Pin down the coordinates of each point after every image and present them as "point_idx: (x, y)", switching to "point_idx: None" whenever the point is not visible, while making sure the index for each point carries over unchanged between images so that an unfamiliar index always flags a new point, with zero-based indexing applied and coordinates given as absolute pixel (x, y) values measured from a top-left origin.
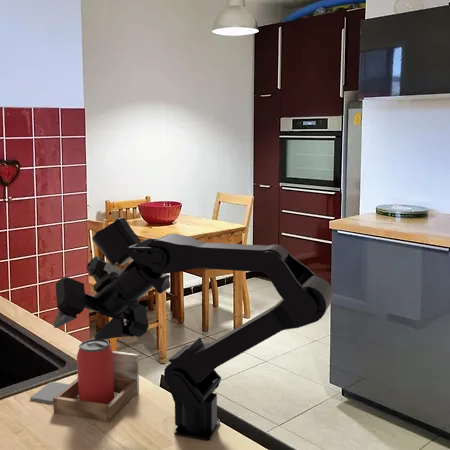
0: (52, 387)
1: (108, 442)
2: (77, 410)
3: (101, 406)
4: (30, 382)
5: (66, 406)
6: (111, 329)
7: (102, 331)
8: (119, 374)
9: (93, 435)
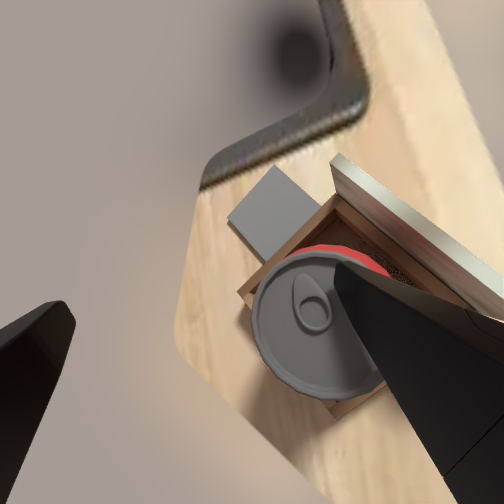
0: (270, 192)
1: (309, 468)
2: None
3: None
4: (244, 146)
5: None
6: (440, 414)
7: (375, 315)
8: (428, 266)
9: (291, 419)
